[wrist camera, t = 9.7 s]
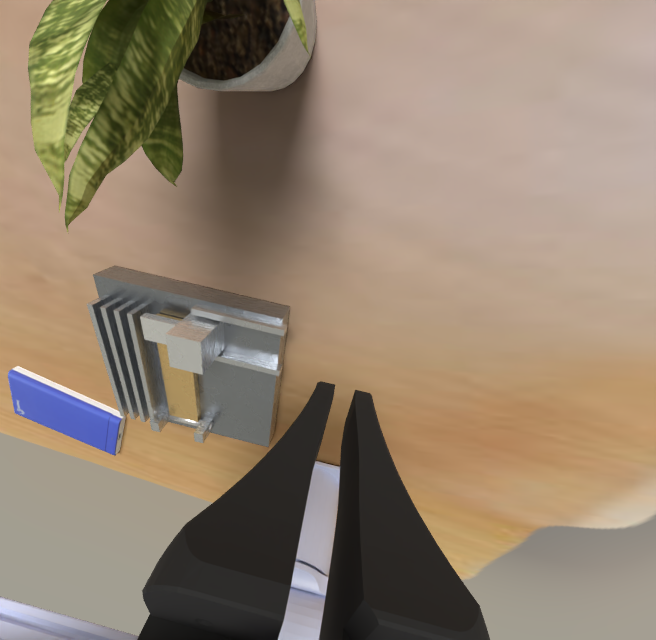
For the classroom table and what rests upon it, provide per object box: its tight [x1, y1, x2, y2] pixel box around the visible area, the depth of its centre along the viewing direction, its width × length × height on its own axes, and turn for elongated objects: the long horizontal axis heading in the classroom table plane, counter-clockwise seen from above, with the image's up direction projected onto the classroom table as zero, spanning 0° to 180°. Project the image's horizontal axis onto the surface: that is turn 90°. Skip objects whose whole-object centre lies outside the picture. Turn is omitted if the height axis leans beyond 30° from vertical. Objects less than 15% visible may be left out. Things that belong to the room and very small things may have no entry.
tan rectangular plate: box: [156, 313, 201, 422], centre depth 24 cm, size 11×3×1 cm, turn 170°
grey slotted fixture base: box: [87, 266, 290, 447], centre depth 24 cm, size 15×15×4 cm
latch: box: [140, 313, 224, 375], centre depth 20 cm, size 3×5×3 cm, turn 80°
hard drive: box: [8, 366, 126, 455], centre depth 33 cm, size 2×8×12 cm
